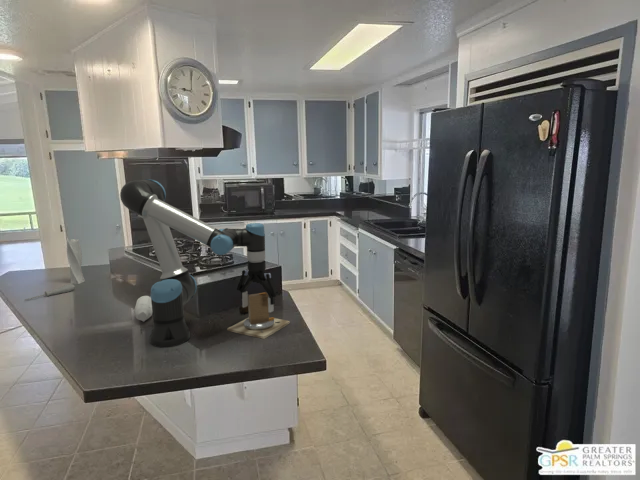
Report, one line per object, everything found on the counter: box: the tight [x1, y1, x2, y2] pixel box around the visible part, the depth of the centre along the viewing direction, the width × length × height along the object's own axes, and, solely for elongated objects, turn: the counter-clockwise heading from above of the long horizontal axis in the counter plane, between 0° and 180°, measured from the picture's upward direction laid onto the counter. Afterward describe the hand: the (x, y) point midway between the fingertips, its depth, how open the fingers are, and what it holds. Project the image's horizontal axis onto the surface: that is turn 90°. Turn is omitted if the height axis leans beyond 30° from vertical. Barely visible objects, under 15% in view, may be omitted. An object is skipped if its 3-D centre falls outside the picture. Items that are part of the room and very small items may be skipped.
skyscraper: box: [66, 236, 86, 285], centre depth 256 cm, size 8×8×28 cm
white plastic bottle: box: [133, 295, 153, 323], centre depth 196 cm, size 8×19×8 cm, turn 18°
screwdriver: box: [24, 283, 76, 301], centre depth 233 cm, size 5×25×4 cm, turn 141°
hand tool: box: [239, 305, 249, 315], centre depth 206 cm, size 19×4×5 cm, turn 132°
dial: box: [244, 291, 275, 330], centre depth 183 cm, size 13×13×14 cm
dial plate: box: [226, 317, 291, 340], centre depth 184 cm, size 19×19×1 cm
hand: (257, 309), depth 183 cm, fingers open, 13 cm apart
